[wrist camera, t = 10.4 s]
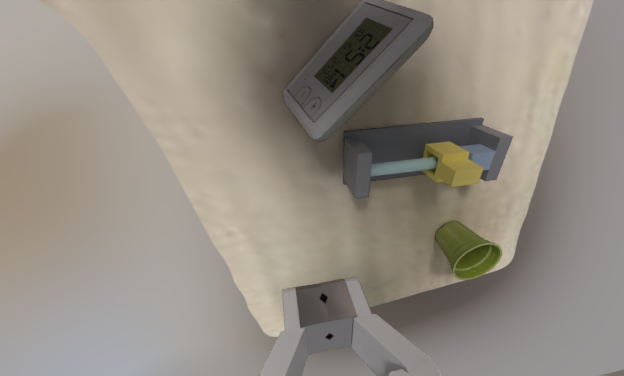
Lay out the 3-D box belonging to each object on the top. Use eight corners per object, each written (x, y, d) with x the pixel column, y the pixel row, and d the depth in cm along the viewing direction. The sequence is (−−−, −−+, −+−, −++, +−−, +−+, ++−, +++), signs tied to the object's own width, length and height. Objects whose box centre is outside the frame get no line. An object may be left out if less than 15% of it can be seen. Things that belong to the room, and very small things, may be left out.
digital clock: (374, -11, 29) (423, -34, 20) (401, 60, 34) (451, 67, 25) (265, 74, 32) (266, 87, 23) (304, 129, 37) (318, 158, 28)
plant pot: (463, 244, 56) (493, 274, 49) (424, 252, 55) (449, 284, 48) (473, 210, 51) (509, 239, 44) (430, 219, 50) (459, 249, 43)
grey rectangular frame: (343, 182, 42) (355, 204, 37) (344, 131, 38) (358, 146, 32) (465, 167, 45) (494, 185, 40) (481, 117, 40) (515, 129, 35)
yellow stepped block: (420, 169, 40) (449, 193, 34) (425, 144, 38) (457, 164, 32) (443, 166, 41) (476, 189, 34) (449, 141, 38) (486, 160, 32)
